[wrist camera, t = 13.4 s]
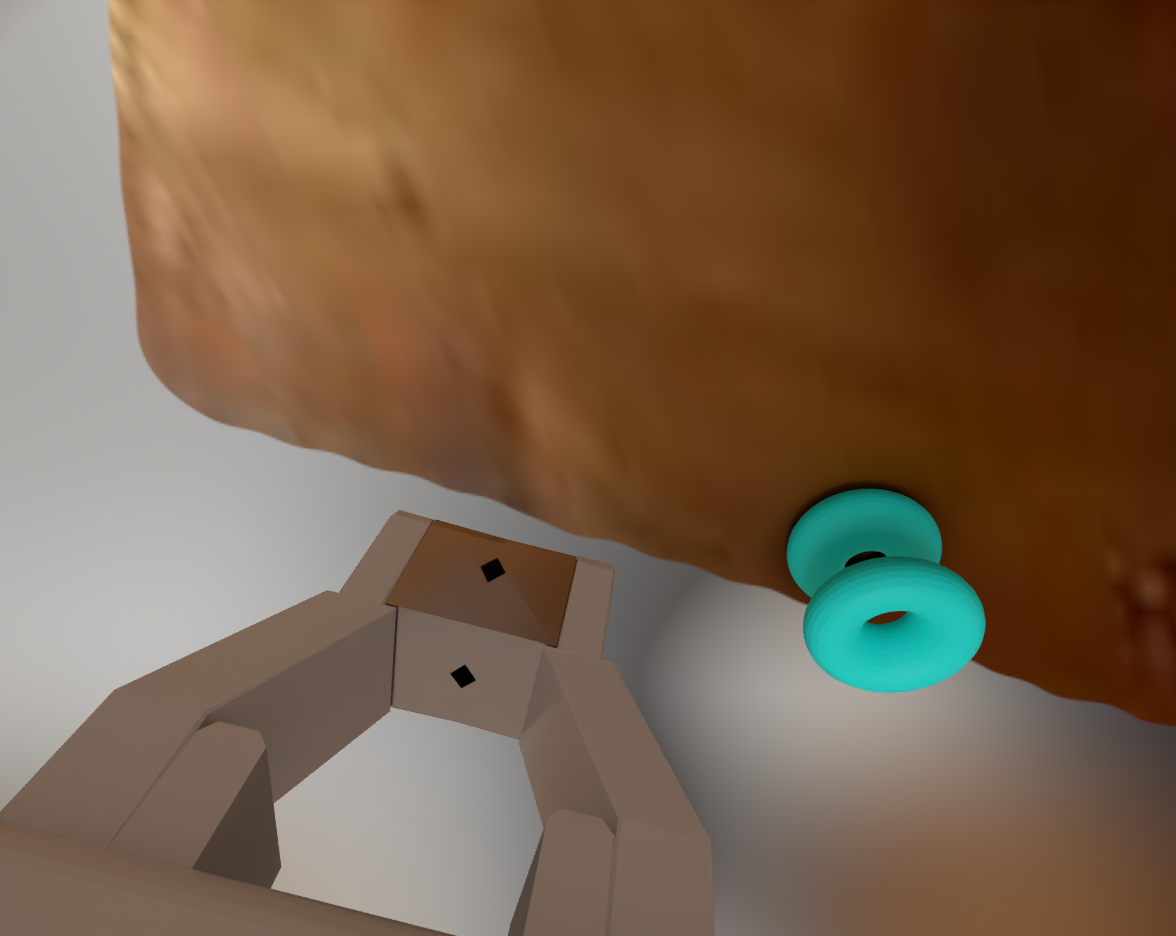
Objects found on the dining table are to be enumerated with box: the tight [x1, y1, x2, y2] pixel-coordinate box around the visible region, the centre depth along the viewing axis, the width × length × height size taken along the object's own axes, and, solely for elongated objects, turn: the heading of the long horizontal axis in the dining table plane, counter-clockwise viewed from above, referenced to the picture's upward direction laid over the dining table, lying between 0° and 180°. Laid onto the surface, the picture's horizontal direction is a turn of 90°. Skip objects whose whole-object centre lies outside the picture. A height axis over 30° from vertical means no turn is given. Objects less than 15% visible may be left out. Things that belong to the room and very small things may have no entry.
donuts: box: [787, 489, 985, 693], centre depth 40 cm, size 10×10×10 cm
